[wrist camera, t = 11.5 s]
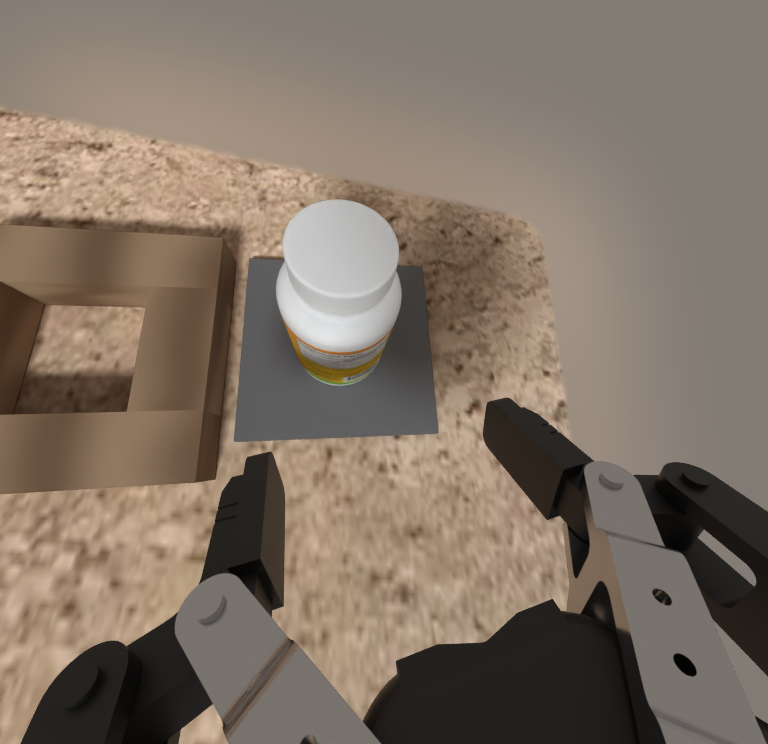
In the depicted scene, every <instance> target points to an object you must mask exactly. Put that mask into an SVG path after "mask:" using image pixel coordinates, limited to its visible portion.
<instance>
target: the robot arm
mask: <svg viewBox="0 0 768 744" xmlns="http://www.w3.org/2000/svg"><path fill="white" fill-rule="evenodd" d="M483 437H484V441H485V444H486V446H487V447H488V449H489V450H490V451H491V452H492V453H493V455H494V456H495V457H496V458H497V460H498V461H499V462H500V463H501V464H502V466H503V467H504V468H505V469H506V471H507V472H508V473H509V474H510V475H511V477H512V478H513V479H514V480H515V481H516V483H517V484H518V485H519V486H520V488H521V489H522V490H523V491H524V492H525V494H526V495H527V496H528V497H529V499H530V500H531V501H532V502H533V503H534V505H535V506H536V507H537V508H538V510H539V511H540V512H541V513H542V514H543V516H544V517H545V518H546V519H547V520H549V519H552V518H555V517H557V516H561V518H562V519H563V520H564V524H563V533H564V542H565V551H566V560H567V568H568V577H569V594H568V601H567V612H566V611H560V609H559V608H558V606H557V605H556V603H555V602H554V600H553V599H551V600H549V601H546V602H544V603H541V604H539V605H536V606H533V607H531V608H528V609H526V610H523V611H521V612H518V613H517V614H516V615H515V616H513V617H512V618H511V619H510V620H509V621H508V622H507V623H506V624H505V625H504V626H503V627H502V628H501V629H499V630H498V631H497V632H496V633H495V634H494V635H493V636H492V637H491V638H490V639H489V640H487V641H486V642H483V643H464V644H438V645H435V646H433V647H430V648H428V649H425V650H422V651H420V652H417V653H415V654H412V655H410V656H407V657H405V658H402V659H400V660H397V661H396V667H397V675H396V676H394V677H393V678H392V679H391V680H390V681H389V682H388V683H387V684H386V685H385V686H384V687H383V689H382V690H381V691H380V692H379V694H378V695H377V697H376V698H375V700H374V701H373V703H372V704H371V706H370V708H369V710H368V712H367V714H366V716H365V717H364V720H363V722H362V720H361V719H360V718H359V717H358V716H357V714H356V713H355V712H354V711H353V710H352V708H351V707H350V706H349V705H348V704H347V702H346V701H345V700H344V699H343V698H342V696H341V695H340V694H339V693H338V692H337V691H336V689H335V688H334V687H333V686H332V685H331V683H330V682H329V681H328V680H327V679H326V677H325V676H324V675H323V674H322V673H321V671H320V670H319V669H318V668H317V667H316V666H315V664H314V663H313V662H312V661H311V660H310V658H309V657H308V656H307V655H306V654H305V652H304V651H303V650H302V649H301V648H300V647H299V646H298V645H297V644H296V643H295V642H294V641H293V640H290V639H289V638H288V637H287V635H286V634H285V633H284V632H283V631H282V630H281V628H280V627H279V626H278V625H277V624H276V622H275V621H274V620H273V619H272V610H274V609H277V608H280V607H283V606H284V548H285V492H284V487H283V483H282V480H281V477H280V474H279V471H278V468H277V465H276V462H275V459H274V456H273V454H272V452H267V453H263V454H258V455H254V456H250V457H247V459H246V462H245V468H244V474H243V475H239V476H235V477H232V478H231V479H230V481H229V482H228V484H227V485H226V487H225V488H224V490H223V491H222V493H221V497H220V502H219V506H218V511H217V514H216V518H215V524H214V527H213V531H212V535H211V540H210V544H209V548H208V552H207V556H206V561H205V565H204V569H203V573H202V577H201V580H200V583H199V585H198V586H197V587H196V588H195V589H194V590H193V591H192V592H191V593H190V594H189V595H188V596H187V598H186V599H185V601H184V602H183V604H182V605H181V607H180V609H179V612H178V613H176V614H175V615H174V616H173V617H172V618H170V619H169V620H167V621H166V622H164V623H163V624H161V625H160V626H158V627H156V628H155V629H153V630H152V631H150V632H149V633H147V634H145V635H144V636H142V637H141V638H139V639H137V640H136V641H134V642H133V643H131V644H130V645H128V646H125V645H124V644H123V643H121V642H119V641H106V642H103V643H100V644H98V645H95V646H93V647H91V648H90V649H88V650H86V651H85V652H83V653H82V654H81V655H79V656H78V657H77V658H76V659H74V660H73V661H72V662H71V663H70V664H69V665H68V666H67V667H66V668H65V669H64V670H63V671H62V672H61V673H60V674H59V675H58V676H57V677H56V678H55V680H54V681H53V682H52V684H51V685H50V686H49V688H48V689H47V691H46V692H45V694H44V695H43V697H42V699H41V701H40V703H39V705H38V707H37V709H36V711H35V713H34V716H33V718H32V720H31V722H30V724H29V726H28V729H27V731H26V733H25V735H24V737H23V739H22V742H21V744H178V743H179V737H180V731H181V729H182V728H183V727H184V726H186V725H187V724H188V723H189V722H191V721H192V720H193V719H194V718H196V717H197V716H198V715H199V714H201V713H202V712H203V711H204V710H206V709H207V708H208V707H209V706H211V705H212V704H213V705H214V706H215V708H216V710H217V712H218V714H219V716H220V718H221V720H222V722H223V731H224V734H225V737H226V739H227V741H228V743H229V744H768V724H767V723H766V722H764V721H762V720H761V719H759V718H758V717H756V716H754V714H753V711H752V709H751V707H750V705H749V702H748V700H747V698H746V695H745V693H744V691H743V688H742V686H741V684H740V682H739V679H738V677H737V675H736V673H735V670H734V668H733V665H732V663H731V661H730V658H729V656H728V654H727V652H726V649H725V647H724V645H723V642H722V640H721V638H720V635H719V633H718V631H717V629H716V626H715V624H714V622H713V620H714V621H715V622H716V623H717V624H718V625H719V626H720V627H721V628H722V629H723V630H724V631H725V632H726V633H727V635H728V636H729V637H730V638H731V639H732V640H733V641H734V642H735V643H736V644H737V645H738V646H739V647H740V648H741V649H742V650H743V651H744V652H745V653H746V654H747V655H748V656H749V657H750V658H751V659H752V660H753V661H754V662H755V663H756V665H757V666H759V668H760V669H761V670H762V671H763V672H764V673H765V674H766V675H767V676H768V512H767V511H766V510H764V509H763V508H761V507H760V506H758V505H757V504H755V503H754V502H752V501H751V500H749V499H748V498H746V497H745V496H743V495H742V494H740V493H739V492H737V491H736V490H735V489H733V488H732V487H730V486H729V485H727V484H726V483H724V482H723V481H721V480H720V479H718V478H717V477H715V476H714V475H712V474H711V473H709V472H707V471H705V470H703V469H701V468H699V467H696V466H693V465H690V464H685V463H679V462H673V463H668V464H666V465H665V466H664V467H663V469H662V470H661V472H660V474H659V475H632V474H631V473H630V472H628V471H627V470H625V469H623V468H621V467H619V466H617V465H614V464H611V463H608V462H601V461H597V462H595V461H593V460H592V459H591V458H590V457H588V456H587V455H586V454H585V453H584V452H582V451H581V450H580V449H579V448H578V447H577V446H575V445H574V444H573V443H572V442H571V441H569V440H568V439H567V438H566V437H565V436H563V435H562V434H561V433H560V432H559V433H558V431H557V430H556V429H555V428H554V427H553V426H552V425H549V423H548V422H547V421H546V420H544V419H543V418H542V417H541V416H540V415H538V414H537V413H535V412H533V411H530V410H528V409H526V408H524V407H523V408H521V407H520V406H518V405H517V404H516V403H515V402H514V401H513V400H511V399H510V398H503V399H498V400H494V401H490V402H488V403H487V405H486V412H485V420H484V428H483ZM704 529H705V530H706V531H707V532H708V533H709V534H711V535H712V536H713V537H714V538H716V539H717V540H718V541H719V542H720V543H722V544H723V545H724V546H725V547H726V548H728V549H729V550H730V551H731V552H733V553H734V554H735V555H736V556H737V557H739V558H740V559H741V560H742V561H743V562H744V563H746V564H747V565H748V566H749V567H750V568H751V570H752V571H753V573H754V574H755V577H756V582H757V583H756V585H755V587H754V586H753V585H752V584H750V583H749V582H748V581H747V580H746V579H744V578H743V577H742V576H741V575H740V574H739V573H737V571H735V570H734V569H733V568H732V567H731V566H730V565H728V564H727V563H726V562H725V561H724V560H723V559H721V558H720V557H719V556H718V555H717V554H716V553H715V552H713V551H712V550H711V549H710V548H709V547H708V546H706V545H705V544H704V543H703V542H702V541H701V540H699V539H698V536H699V535H700V534H701V532H702V531H703V530H704Z"/></svg>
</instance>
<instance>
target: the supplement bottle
mask: <svg viewBox="0 0 768 744" xmlns="http://www.w3.org/2000/svg"><path fill="white" fill-rule="evenodd" d="M283 256H284V260H285V261H284V263H283V265H282V267H281V269H280V271H279V274H278V278H277V283H276V297H277V303H278V306H279V310H280V313H281V316H282V319H283V321H284V323H285V326H286V329H287V331H288V334H289V336H290V339H291V341H292V344H293V347H294V349H295V352H296V355H297V357H298V359H299V361H300V363H301V365H302V366H303V368H304V369H305V370H306V371H307V372H308V373H309V374H310V375H311V376H312V377H314V378H315V379H317V380H319V381H321V382H323V383H326V384H329V385H336V386H343V385H349V384H353V383H356V382H358V381H360V380H362V379H364V378H365V377H367V376H368V375H369V374H370V373H371V372H372V371H373V370H374V368H375V367H376V365H377V364H378V362H379V360H380V357H381V355H382V352H383V350H384V348H385V345H386V343H387V341H388V338H389V336H390V334H391V331H392V329H393V326H394V324H395V322H396V319H397V316H398V313H399V310H400V306H401V299H402V290H401V284H400V279H399V276H398V274H397V272H396V269H397V265H398V260H399V246H398V241H397V238H396V235H395V233H394V231H393V229H392V228H391V226H390V225H389V223H388V222H387V221H386V220H385V219H384V218H383V217H382V216H381V215H380V214H378V213H377V212H376V211H374V210H373V209H371V208H369V207H367V206H365V205H363V204H360V203H358V202H354V201H349V200H342V199H332V200H324V201H320V202H316V203H314V204H311V205H309V206H307V207H305V208H304V209H302V210H301V211H300V212H298V213H297V214H296V215H295V216H294V217H293V218H292V219H291V221H290V223H289V224H288V226H287V228H286V230H285V233H284V237H283Z"/></svg>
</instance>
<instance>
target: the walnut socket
mask: <svg viewBox="0 0 768 744" xmlns="http://www.w3.org/2000/svg"><path fill="white" fill-rule="evenodd" d="M235 271H236V262H235V260H234V258H233V256H232V254H231V252H230V250H229V248H228V246H227V244H226V242H225V240H224V238H223V237H206V236H189V235H172V234H155V233H139V232H122V231H105V230H88V229H71V228H54V227H37V226H20V225H3V224H0V494H12V493H28V492H45V491H62V490H78V489H95V488H112V487H129V486H145V485H162V484H179V483H195V482H202V481H208V480H215V476H216V466H217V456H218V445H219V435H220V425H221V415H222V404H223V394H224V384H225V374H226V363H227V353H228V343H229V333H230V322H231V312H232V302H233V292H234V281H235ZM44 305H75V306H116V307H146V309H145V315H144V320H143V326H142V331H141V336H140V342H139V347H138V353H137V358H136V363H135V369H134V374H133V380H132V385H131V391H130V396H129V401H128V407H127V412H94V413H54V414H14V415H13V412H14V409H15V405H16V402H17V398H18V395H19V391H20V388H21V384H22V381H23V377H24V374H25V371H26V367H27V364H28V360H29V357H30V353H31V350H32V346H33V343H34V339H35V336H36V332H37V329H38V325H39V322H40V318H41V315H42V311H43V308H44Z"/></svg>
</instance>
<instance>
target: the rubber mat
mask: <svg viewBox="0 0 768 744" xmlns="http://www.w3.org/2000/svg"><path fill="white" fill-rule="evenodd" d="M284 261H285V260H273V259H253V258H249V268H248V280H247V292H246V304H245V316H244V327H243V339H242V351H241V363H240V375H239V387H238V399H237V411H236V423H235V434H234V441H235V442H247V441H271V440H295V439H320V438H344V437H368V436H393V435H417V434H437V433H439V432H438V421H437V411H436V401H435V391H434V381H433V371H432V361H431V351H430V341H429V330H428V320H427V310H426V300H425V290H424V280H423V270H422V267H414V266H397V269H396V272H397V274H398V276H399V279H400V284H401V290H402V299H401V306H400V310H399V313H398V316H397V319H396V322H395V324H394V326H393V329H392V331H391V334H390V336H389V338H388V341H387V343H386V345H385V348H384V350H383V352H382V355H381V357H380V360H379V362H378V364H377V365H376V367H375V368H374V370H373V371H372V372H371V373H370V374H369V375H368V376H367V377H365V378H364V379H362V380H360V381H358V382H356V383H353V384H349V385H343V386H336V385H329V384H326V383H323V382H321V381H319V380H317V379H315V378H314V377H312V376H311V375H310V374H309V373H308V372H307V371H306V370H305V369H304V368H303V366H302V365H301V363H300V361H299V359H298V357H297V355H296V352H295V349H294V347H293V344H292V341H291V339H290V336H289V334H288V331H287V329H286V326H285V323H284V321H283V319H282V316H281V313H280V310H279V306H278V303H277V297H276V283H277V278H278V274H279V271H280V269H281V267H282V265H283V263H284Z"/></svg>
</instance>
